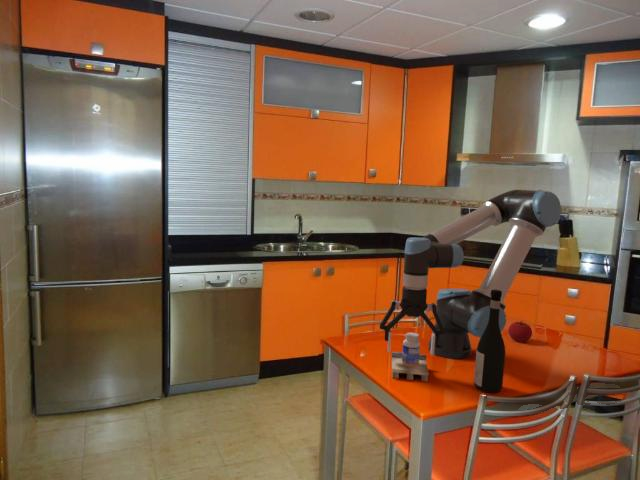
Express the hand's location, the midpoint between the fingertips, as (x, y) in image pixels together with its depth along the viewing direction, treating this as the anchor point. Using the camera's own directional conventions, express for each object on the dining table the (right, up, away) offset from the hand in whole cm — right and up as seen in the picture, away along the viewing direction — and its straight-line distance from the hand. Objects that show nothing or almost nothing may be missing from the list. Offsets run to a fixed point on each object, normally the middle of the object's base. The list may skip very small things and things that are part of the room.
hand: (410, 352), depth 148 cm
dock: (0, -7, +1) cm, 7 cm away
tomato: (+51, -5, +38) cm, 64 cm away
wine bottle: (+22, -9, -8) cm, 25 cm away
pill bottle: (0, -4, +1) cm, 4 cm away
